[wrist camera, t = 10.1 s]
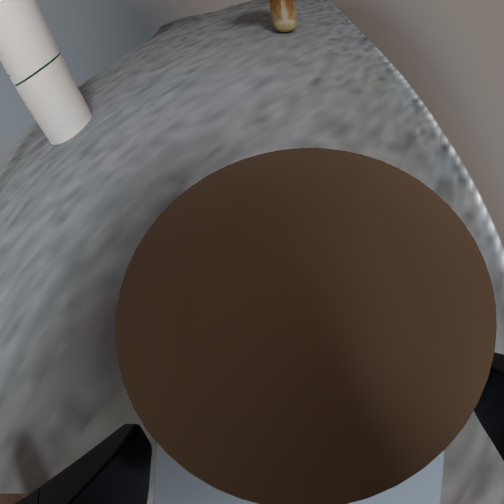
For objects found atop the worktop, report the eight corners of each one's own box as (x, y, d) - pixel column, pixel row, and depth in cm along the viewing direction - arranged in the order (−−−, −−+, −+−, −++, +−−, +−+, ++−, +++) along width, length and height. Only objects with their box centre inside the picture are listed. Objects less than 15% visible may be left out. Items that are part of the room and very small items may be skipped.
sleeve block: (410, 491, 11) (439, 507, 7) (185, 491, 13) (153, 505, 9) (403, 289, 17) (424, 255, 13) (204, 294, 19) (182, 262, 15)
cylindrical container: (82, 108, 38) (20, -22, 16) (99, 116, 34) (28, -35, 13) (46, 138, 35) (-27, 9, 14) (57, 150, 32) (-27, 0, 11)
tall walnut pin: (341, 433, 13) (508, 466, 1) (263, 434, 14) (93, 470, 2) (341, 361, 15) (441, 150, 4) (267, 362, 16) (160, 161, 4)
